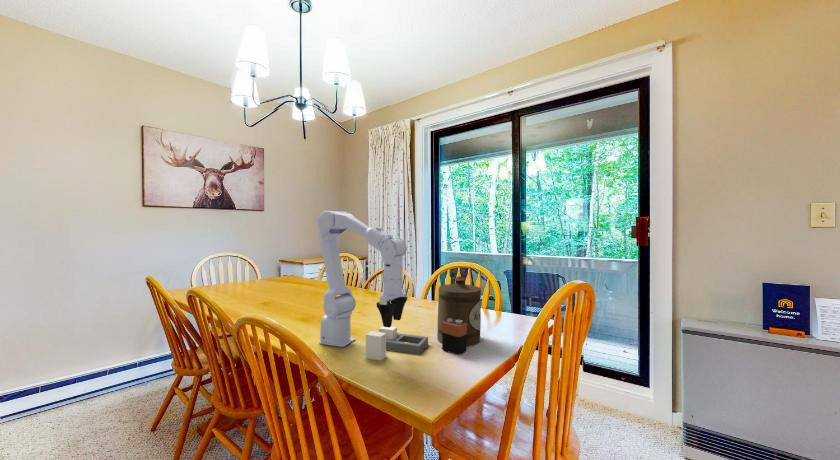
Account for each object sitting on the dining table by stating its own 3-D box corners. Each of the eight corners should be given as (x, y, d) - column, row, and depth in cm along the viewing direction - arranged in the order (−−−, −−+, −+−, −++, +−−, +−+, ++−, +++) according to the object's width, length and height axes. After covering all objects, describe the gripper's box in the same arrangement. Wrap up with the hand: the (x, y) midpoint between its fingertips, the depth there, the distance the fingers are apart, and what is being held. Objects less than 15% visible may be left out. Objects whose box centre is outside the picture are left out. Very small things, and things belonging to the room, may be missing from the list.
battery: (459, 355, 103) (459, 323, 103) (441, 350, 107) (441, 318, 107) (467, 351, 106) (467, 320, 106) (449, 346, 111) (449, 316, 110)
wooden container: (483, 347, 110) (484, 280, 109) (438, 346, 110) (438, 279, 110) (476, 333, 125) (477, 273, 124) (436, 332, 125) (437, 273, 125)
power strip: (369, 347, 109) (369, 330, 109) (381, 338, 118) (381, 322, 118) (419, 354, 104) (419, 336, 104) (428, 344, 112) (428, 328, 112)
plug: (365, 358, 100) (365, 334, 100) (371, 353, 104) (371, 331, 104) (380, 360, 99) (381, 336, 99) (385, 356, 102) (386, 333, 102)
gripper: (396, 283, 94) (395, 331, 94) (413, 275, 108) (412, 318, 108) (373, 281, 96) (372, 329, 96) (393, 274, 110) (392, 316, 110)
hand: (392, 323), depth 102 cm, fingers open, 7 cm apart
